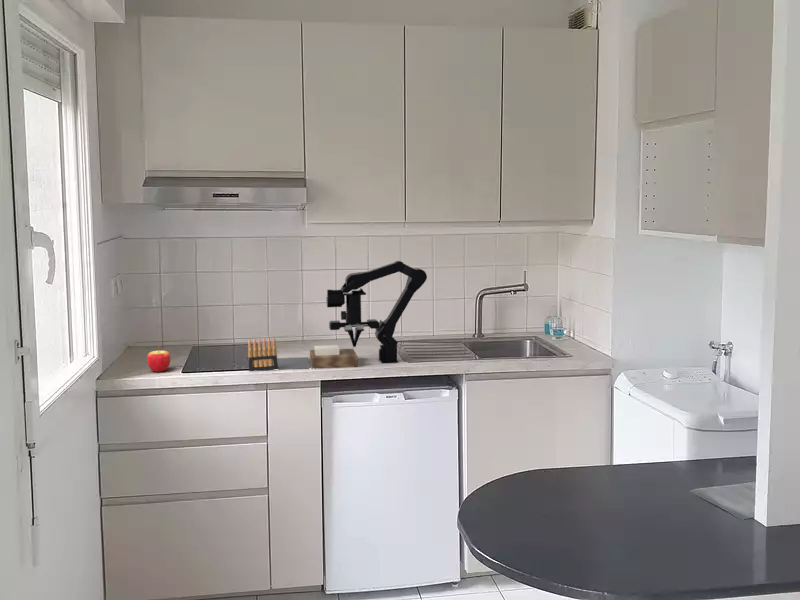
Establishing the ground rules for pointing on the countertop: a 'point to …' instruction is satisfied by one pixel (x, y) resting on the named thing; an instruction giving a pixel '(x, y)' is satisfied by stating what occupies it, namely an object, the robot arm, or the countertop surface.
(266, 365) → the ammunition clip
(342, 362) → the brown flat block
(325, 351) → the tile
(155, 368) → the apple
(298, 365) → the mat
